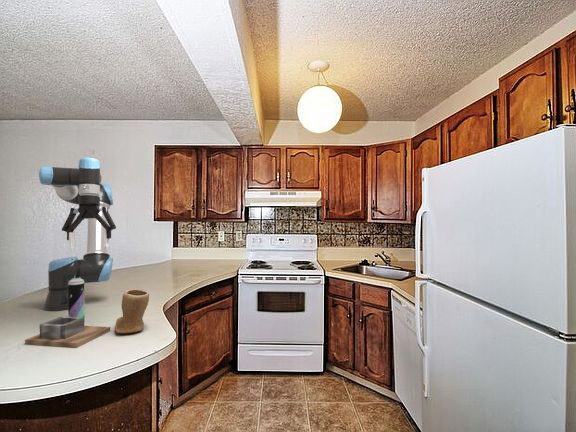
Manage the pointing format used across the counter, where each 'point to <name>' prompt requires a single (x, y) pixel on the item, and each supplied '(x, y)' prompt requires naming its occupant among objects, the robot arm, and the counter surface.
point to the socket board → (72, 339)
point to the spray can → (76, 297)
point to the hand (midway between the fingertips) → (89, 247)
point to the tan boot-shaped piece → (132, 311)
